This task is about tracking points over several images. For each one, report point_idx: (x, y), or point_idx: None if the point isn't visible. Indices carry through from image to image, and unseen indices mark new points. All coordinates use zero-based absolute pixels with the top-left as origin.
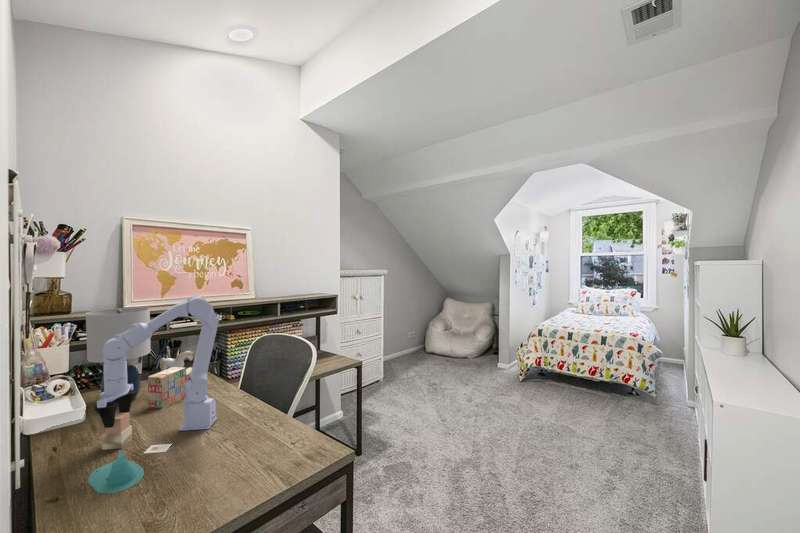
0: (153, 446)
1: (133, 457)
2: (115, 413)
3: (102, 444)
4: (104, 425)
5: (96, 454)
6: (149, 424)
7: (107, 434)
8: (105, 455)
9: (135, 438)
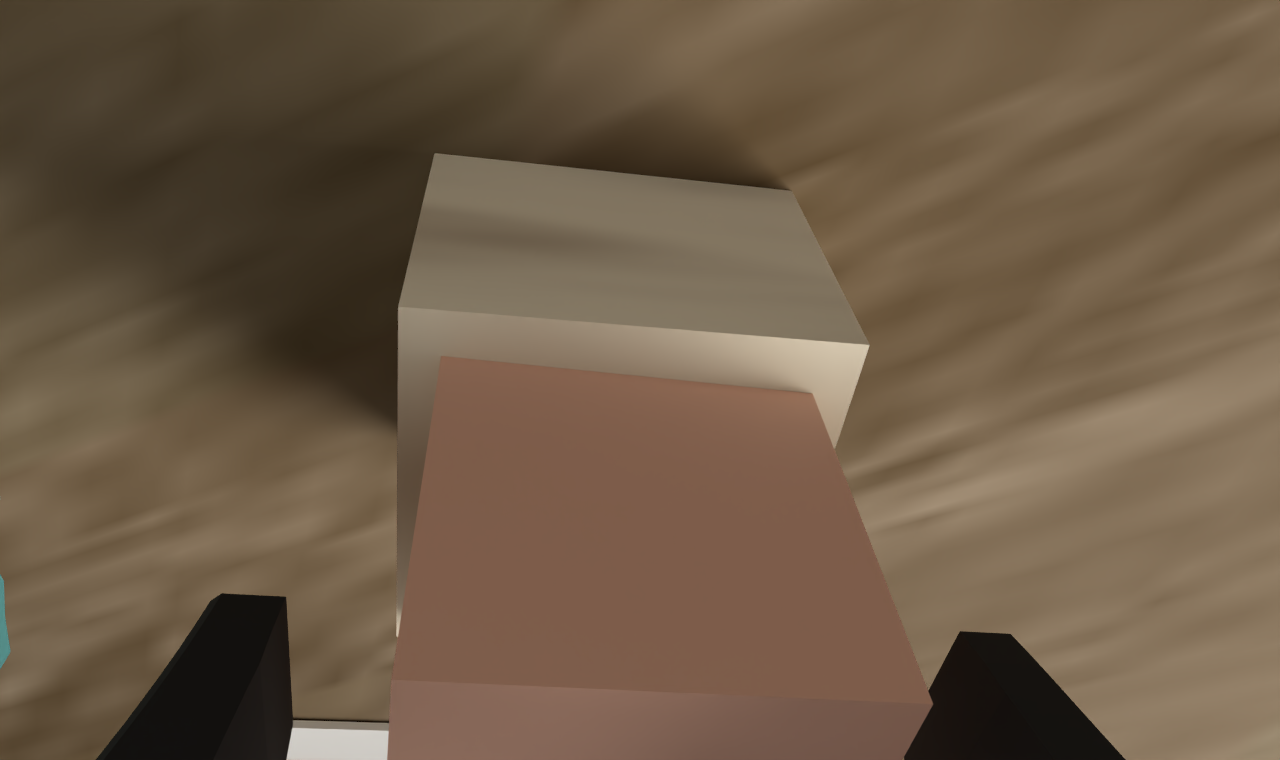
0: (369, 755)
1: (107, 658)
2: (880, 743)
3: (422, 209)
4: (179, 659)
5: (239, 140)
6: (1204, 498)
7: (411, 415)
8: (187, 309)
9: None
